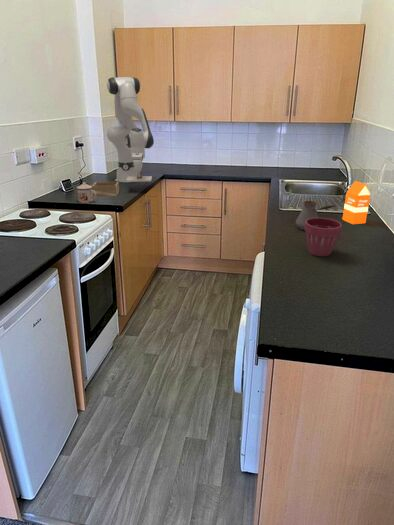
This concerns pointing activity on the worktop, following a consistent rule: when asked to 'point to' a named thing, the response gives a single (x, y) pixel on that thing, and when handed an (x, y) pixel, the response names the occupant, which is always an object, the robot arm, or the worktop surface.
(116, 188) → the box
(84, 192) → the teacup with lid
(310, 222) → the plant pot
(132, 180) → the lid
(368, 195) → the orange juice
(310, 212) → the coffee pot
